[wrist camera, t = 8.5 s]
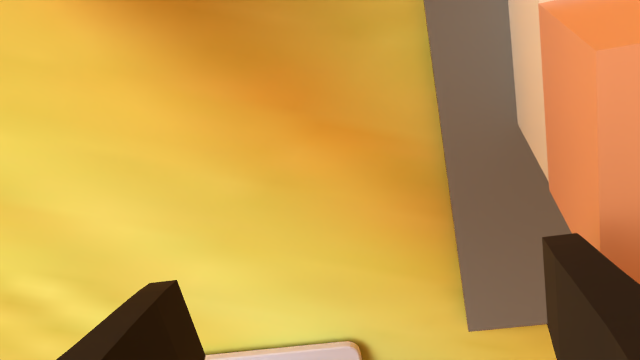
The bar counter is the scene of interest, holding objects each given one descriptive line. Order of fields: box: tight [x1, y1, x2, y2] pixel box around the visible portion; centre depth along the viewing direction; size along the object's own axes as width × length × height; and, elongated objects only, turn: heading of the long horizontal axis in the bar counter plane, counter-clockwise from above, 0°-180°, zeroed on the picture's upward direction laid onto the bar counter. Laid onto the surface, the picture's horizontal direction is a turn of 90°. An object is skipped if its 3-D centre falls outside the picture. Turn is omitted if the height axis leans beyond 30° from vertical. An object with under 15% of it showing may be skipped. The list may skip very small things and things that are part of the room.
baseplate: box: [424, 0, 572, 332], centre depth 21 cm, size 14×9×1 cm, turn 12°
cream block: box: [508, 0, 554, 182], centre depth 17 cm, size 5×4×4 cm
